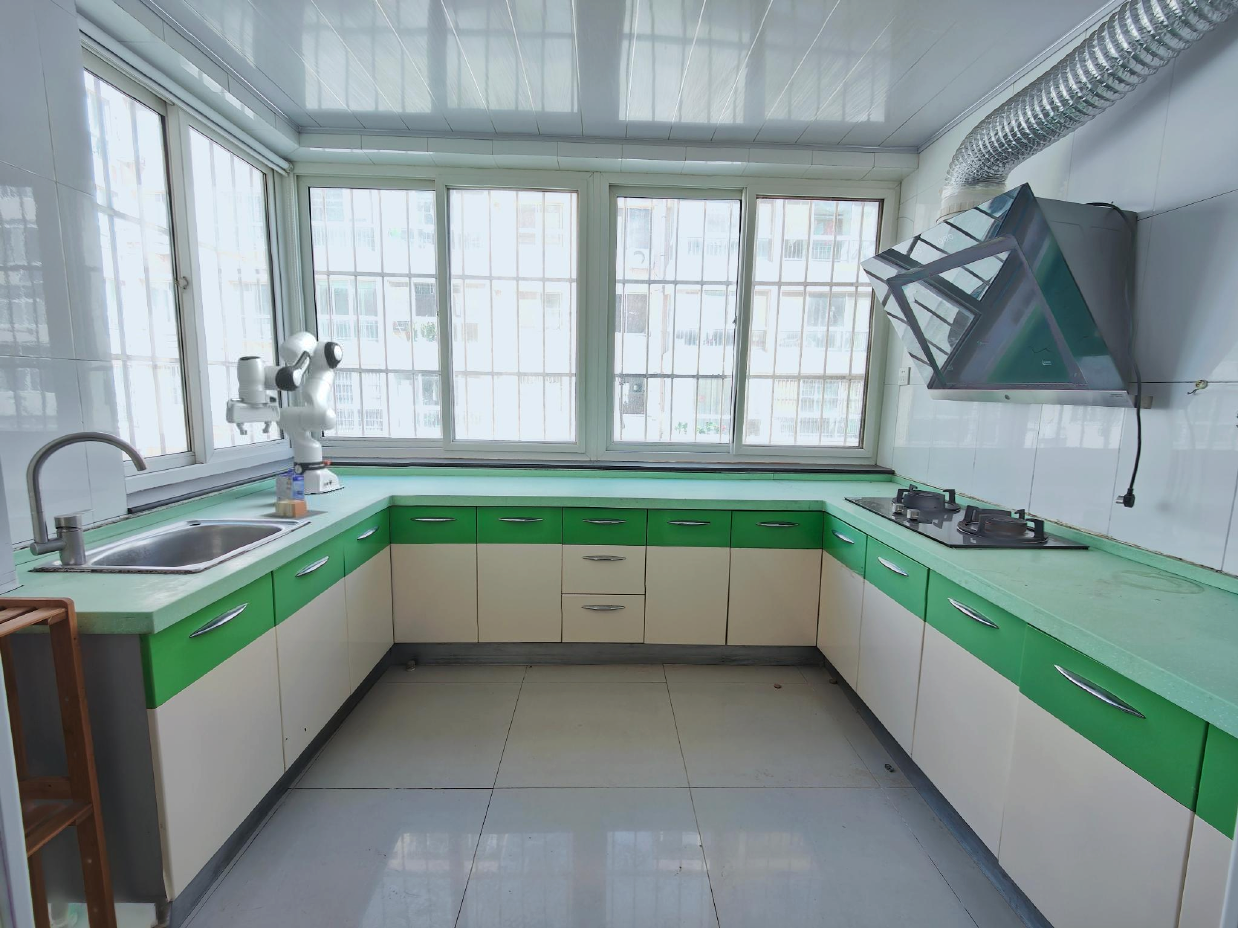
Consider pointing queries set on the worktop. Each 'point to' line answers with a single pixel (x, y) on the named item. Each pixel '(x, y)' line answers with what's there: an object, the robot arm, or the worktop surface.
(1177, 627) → the worktop surface
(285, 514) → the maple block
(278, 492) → the ink cartridge box
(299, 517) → the rubber mat
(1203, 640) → the worktop surface
